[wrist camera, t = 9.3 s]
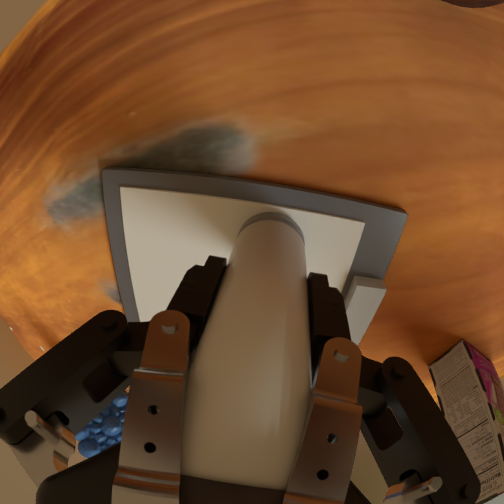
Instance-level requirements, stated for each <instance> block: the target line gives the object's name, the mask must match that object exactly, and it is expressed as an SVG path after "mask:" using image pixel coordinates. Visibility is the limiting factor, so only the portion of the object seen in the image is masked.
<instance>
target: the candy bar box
mask: <svg viewBox="0 0 504 504" xmlns="http://www.w3.org/2000/svg"><path fill="white" fill-rule="evenodd" d="M428 368H429V371H430V374H431V377H432V380H433V383H434V387H435V390H436V394H437V397H438V401H439V405H440V408H441V412H442V414H443V415H444V417H445V419H446V420H447V422H448V424H449V425H450V427H451V429H452V430H453V432H454V434H455V436H456V437H457V439H458V441H459V443H460V444H461V446H462V448H463V450H464V452H465V453H466V455H467V457H468V459H469V461H470V463H471V465H472V466H473V468H474V470H475V472H476V474H477V476H478V478H479V480H480V484H481V491H480V495H479V498H478V500H477V501H476V503H475V504H484V503H486V502H488V501H490V500H492V499H493V498H495V497H497V496H499V495H501V494H502V493H504V389H503V386H502V384H501V381H500V379H499V377H498V374H497V372H496V370H495V367H494V365H493V363H492V362H490V361H489V360H488V359H487V358H485V357H484V356H483V355H482V354H481V353H479V352H478V351H477V350H476V349H474V348H473V347H472V346H471V345H469V344H468V343H467V342H466V341H465V340H464V339H462V340H461V341H459V342H458V343H457V344H455V345H454V346H453V347H452V348H451V349H450V350H449V351H447V352H446V353H445V354H444V355H443V356H442V357H440V358H439V359H438V360H436V361H435V362H434V363H433V364H431V365H430V366H429V367H428Z"/></svg>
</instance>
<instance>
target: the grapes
mask: <svg viewBox="0 0 504 504" xmlns="http://www.w3.org/2000/svg"><path fill="white" fill-rule="evenodd" d="M127 400H128V396H127V394H126V392H125V391H123V392H122V393H121V394H120V395H119V396H118V397H117V398H115V399H114V400H113V401H112V402H111V403H110V404H109V405H108V406H107V407H106V408H105V409H104V410H103V411H102V412H100V413H99V414H98V415H97V416H96V417H95V418H94V419H93V420H92V421H91V422H90V423H89V424H87V425H86V426H85V427H84V428H83V429H82V430H81V431H80V432H79V433H78V434H77V435H75V440H78V441H80V440H81V441H80V442H79V444H78V450H79V453H80V454H81V455H83V456H84V457H86V458H90V457H92V456H94V455H96V454H98V453H100V452H102V451H104V450H106V449H108V448H109V447H111V446H113V445H115V444H117V443H119V442H121V439H122V432H123V425H124V418H125V412H126V406H127Z"/></svg>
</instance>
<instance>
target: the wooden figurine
mask: <svg viewBox="0 0 504 504" xmlns="http://www.w3.org/2000/svg"><path fill="white" fill-rule="evenodd" d="M442 1H445V2H448V3H450V4H453V5H457V6H461V7H469V8H483V7H489V6H494V5H498V4H502V3H504V0H442Z"/></svg>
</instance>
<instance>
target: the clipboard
mask: <svg viewBox="0 0 504 504" xmlns="http://www.w3.org/2000/svg"><path fill="white" fill-rule="evenodd" d="M102 182H103V193H104V203H105V212H106V220H107V227H108V234H109V240H110V246H111V252H112V257H113V263H114V268H115V273H116V277H117V282H118V287H119V291H120V295H121V299H122V303H123V307H124V311H125V315H126V318H127V321H128V322H147V321H150V320H151V319H152V317H153V316H154V315H155V314H157V313H159V312H161V311H165V310H166V309H167V307H168V305H169V303H170V301H171V299H172V297H173V295H174V294H175V292H176V290H177V288H178V287H179V284H180V282H181V281H182V280H183V277H184V275H185V273H186V272H187V270H189V269H190V268H191V267H193V266H194V265H201V266H204V265H205V263H206V260H207V258H208V256H209V255H211V256H217V257H223V258H226V259H227V263H228V260H229V258H230V255H231V252H232V249H233V247H234V244H235V241H236V239H237V236H238V233H239V231H240V229H241V227H242V225H243V224H244V223H245V222H246V221H247V220H248V219H249V218H251V217H253V216H255V215H257V214H260V213H265V212H274V213H280V214H283V215H285V216H287V217H289V218H291V219H292V220H293V221H295V222H296V223H297V225H298V226H299V227H300V229H301V231H302V233H303V236H304V241H305V253H306V266H307V278H308V275H309V273H310V272H314V273H320V274H327V276H328V282H329V287H335V288H337V289H338V290H339V292H340V293H341V294H342V296H343V299H344V303H345V308H346V314H347V319H348V324H349V329H350V335H351V340H352V342H354V343H355V344H356V345H357V346H358V344H359V342H360V341H361V339H362V337H363V335H364V333H365V332H366V330H367V328H368V326H369V324H370V322H371V321H372V319H373V317H374V315H375V313H376V311H377V309H378V307H379V305H380V303H381V301H382V299H383V297H384V295H385V293H386V291H387V289H386V286H385V284H384V281H383V278H384V276H385V274H386V271H387V269H388V267H389V264H390V262H391V259H392V257H393V254H394V252H395V249H396V247H397V244H398V242H399V239H400V236H401V234H402V231H403V228H404V225H405V222H406V219H407V217H408V214H407V213H406V211H405V210H401V209H397V208H394V207H390V206H386V205H381V204H377V203H373V202H369V201H365V200H360V199H356V198H351V197H346V196H342V195H337V194H332V193H327V192H322V191H317V190H311V189H306V188H300V187H295V186H289V185H283V184H277V183H271V182H264V181H257V180H250V179H243V178H236V177H228V176H220V175H211V174H202V173H192V172H182V171H170V170H157V169H142V168H123V167H106V168H104V169H102ZM226 266H227V265H226Z"/></svg>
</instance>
